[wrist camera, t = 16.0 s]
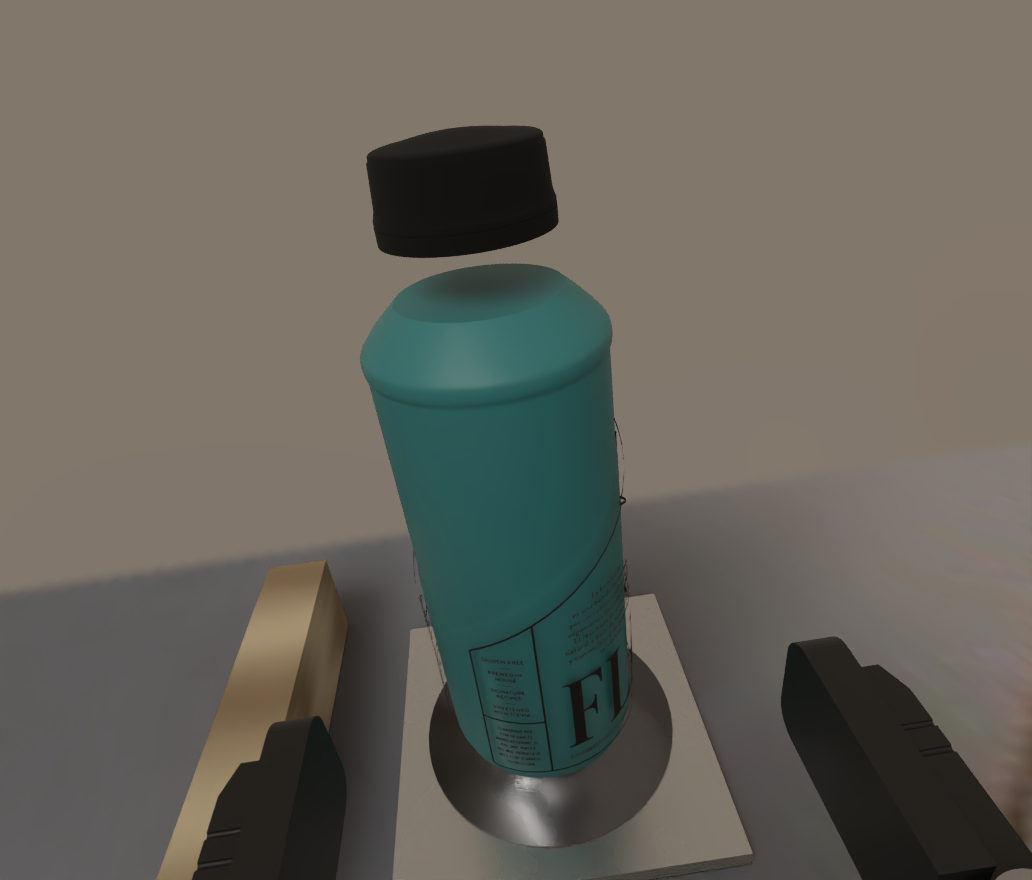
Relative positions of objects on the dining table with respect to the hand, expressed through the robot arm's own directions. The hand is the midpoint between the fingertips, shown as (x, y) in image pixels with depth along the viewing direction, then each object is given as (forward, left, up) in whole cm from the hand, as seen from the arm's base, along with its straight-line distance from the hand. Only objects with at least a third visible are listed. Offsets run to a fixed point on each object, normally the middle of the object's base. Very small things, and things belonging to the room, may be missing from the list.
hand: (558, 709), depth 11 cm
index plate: (+6, +6, -12) cm, 15 cm away
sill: (-1, +13, -12) cm, 18 cm away
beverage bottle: (+5, +6, -12) cm, 14 cm away
